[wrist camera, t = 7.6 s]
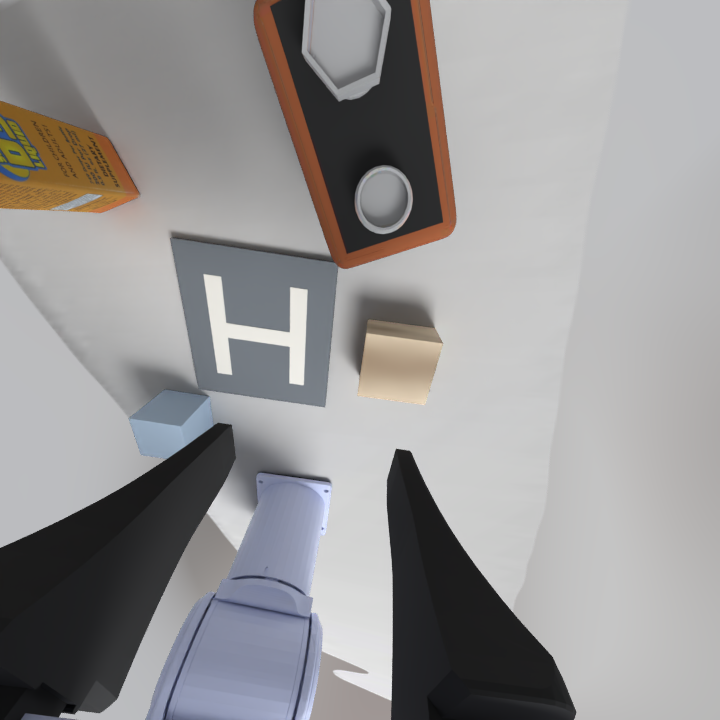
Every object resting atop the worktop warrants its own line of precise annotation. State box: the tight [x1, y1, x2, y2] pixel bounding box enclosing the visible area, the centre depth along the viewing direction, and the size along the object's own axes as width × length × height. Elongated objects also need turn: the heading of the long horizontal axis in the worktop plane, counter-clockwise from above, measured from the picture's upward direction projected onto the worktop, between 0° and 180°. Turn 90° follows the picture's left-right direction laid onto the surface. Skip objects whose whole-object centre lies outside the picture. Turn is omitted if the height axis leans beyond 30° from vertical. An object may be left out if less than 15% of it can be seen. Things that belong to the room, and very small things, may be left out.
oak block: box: [358, 319, 443, 405], centre depth 20 cm, size 5×5×3 cm
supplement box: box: [0, 101, 140, 213], centre depth 12 cm, size 3×3×10 cm
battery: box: [254, 0, 456, 269], centre depth 11 cm, size 4×7×10 cm, turn 17°
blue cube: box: [129, 390, 214, 459], centre depth 23 cm, size 4×4×4 cm
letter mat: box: [170, 238, 338, 407], centre depth 20 cm, size 12×11×1 cm
